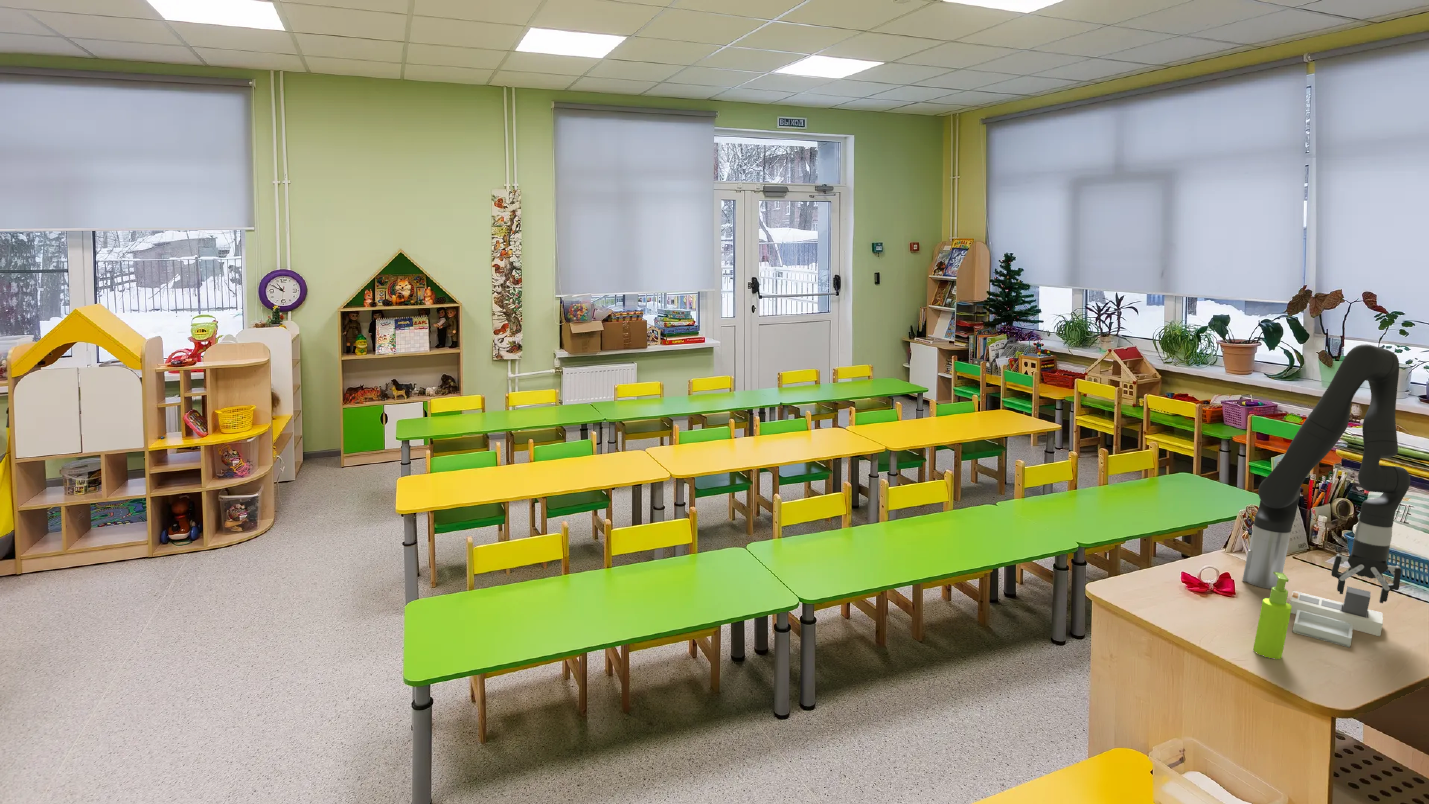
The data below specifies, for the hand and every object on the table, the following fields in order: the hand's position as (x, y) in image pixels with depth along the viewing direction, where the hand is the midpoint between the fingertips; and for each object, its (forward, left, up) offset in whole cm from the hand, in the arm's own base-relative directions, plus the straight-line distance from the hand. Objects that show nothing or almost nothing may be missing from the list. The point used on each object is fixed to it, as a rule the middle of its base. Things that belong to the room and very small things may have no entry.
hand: (1361, 597), depth 224 cm
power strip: (-5, -1, -7) cm, 9 cm away
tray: (-7, -14, -7) cm, 17 cm away
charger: (-1, -1, -5) cm, 5 cm away
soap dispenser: (-17, -38, -8) cm, 42 cm away
